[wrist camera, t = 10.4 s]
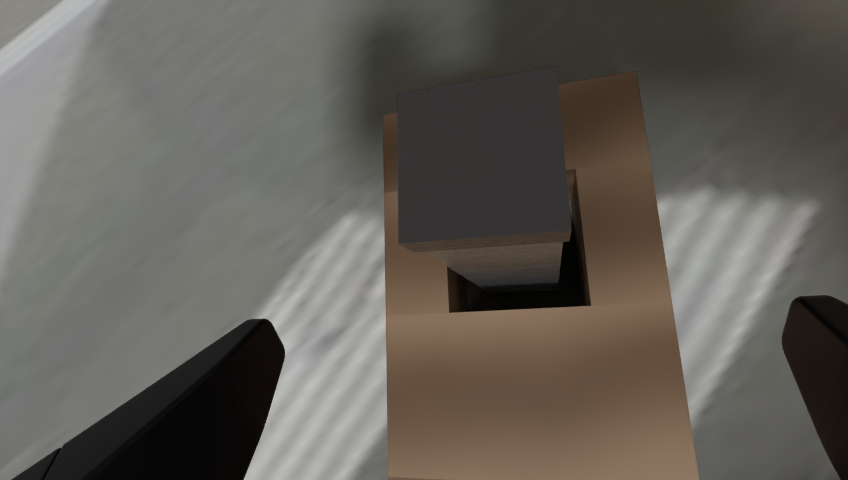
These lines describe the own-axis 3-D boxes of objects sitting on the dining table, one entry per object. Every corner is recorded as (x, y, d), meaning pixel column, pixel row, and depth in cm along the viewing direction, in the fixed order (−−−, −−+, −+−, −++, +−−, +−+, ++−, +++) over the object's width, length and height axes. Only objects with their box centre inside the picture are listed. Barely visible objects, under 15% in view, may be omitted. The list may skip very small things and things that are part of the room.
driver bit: (559, 292, 19) (571, 230, 8) (486, 295, 20) (398, 243, 9) (554, 221, 20) (556, 66, 8) (483, 227, 21) (397, 93, 9)
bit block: (693, 633, 16) (737, 725, 12) (424, 599, 18) (391, 667, 15) (620, 119, 20) (636, 70, 16) (410, 151, 23) (382, 115, 19)
